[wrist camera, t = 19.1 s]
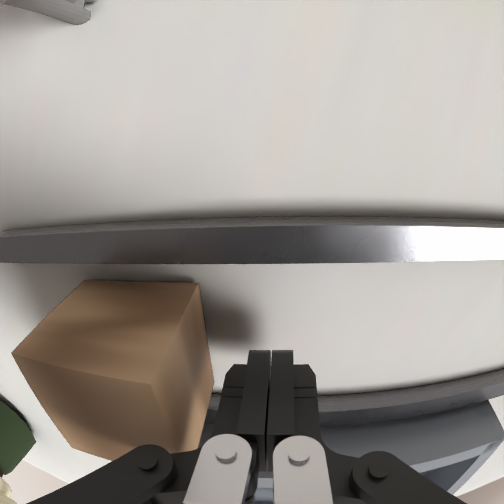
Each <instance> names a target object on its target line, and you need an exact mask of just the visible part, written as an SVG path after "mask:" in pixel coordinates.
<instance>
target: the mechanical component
mask: <svg viewBox="0 0 504 504" xmlns="http://www.w3.org/2000/svg"><path fill="white" fill-rule="evenodd" d="M94 1H96V0H0V6H1V5H2V4H7V5H12V6H16V7H19V8H23V9H27V10H31V11H34V12H38V13H41V14H44V15H47V16H51V17H54V18H57V19H60V20H63V21H66V22H69V23H72V24H75V25H79V24H83V23H85V22H87V21H88V20H90V17H91V11H89V10H86V9H84V2H94Z"/></svg>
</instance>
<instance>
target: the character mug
mask: <svg viewBox="0 0 504 504" xmlns="http://www.w3.org/2000/svg"><path fill="white" fill-rule="evenodd" d="M35 443H36V440H35V438H34V436H33V434H32V433H31V431H30V429H29V428H28V426H27V424H26V423H25V422H24V421H23V420H22V419H21V418H20V417H19V416H18V415H17V414H16V413H15V412H14V411H13V410H12V409H11V408H10V407H8V406H7V405H6V404H5V403H3V402H2V401H0V504H17V503H16V502H15V501H14V500H12V499H11V498H10V496H11V492H12V490H11V488H10V486H9V485H8V484H7V483H6V482H5V481H4V480H3V479H2V476H3V474H4V475H6V474H8V473H10V472H12V471H13V469H14V468H15V467H16V466H17V465H18V463H19V462H20V461H21V460H22V459H23V458H24V457H25V455H26V454H27V453H28V452H29V451H30V449H31V448H32V447H33V445H34V444H35Z"/></svg>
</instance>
